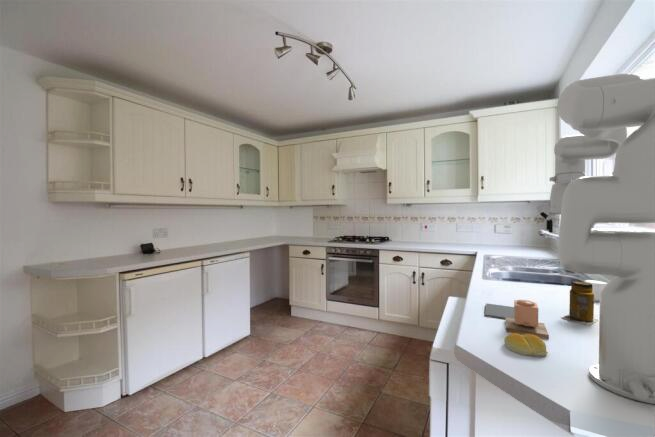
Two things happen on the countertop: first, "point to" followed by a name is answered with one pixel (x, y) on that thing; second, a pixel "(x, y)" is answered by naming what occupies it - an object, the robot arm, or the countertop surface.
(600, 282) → the shot glass
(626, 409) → the countertop surface
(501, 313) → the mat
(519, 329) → the post base
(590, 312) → the condiment
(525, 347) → the bread roll
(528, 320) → the peach rounded block
